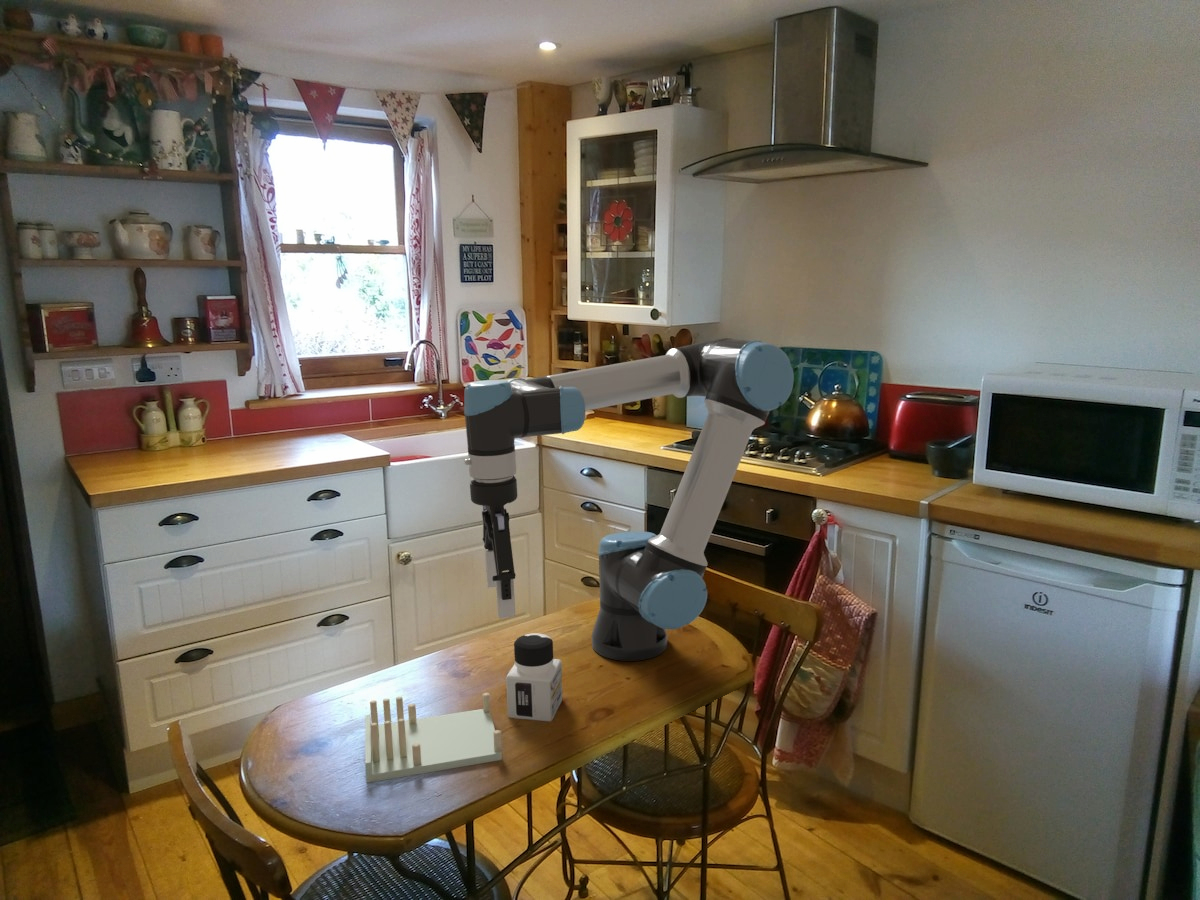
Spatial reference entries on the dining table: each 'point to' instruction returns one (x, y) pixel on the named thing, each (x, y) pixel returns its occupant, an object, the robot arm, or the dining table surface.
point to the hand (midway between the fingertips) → (500, 600)
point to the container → (534, 679)
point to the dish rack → (428, 741)
